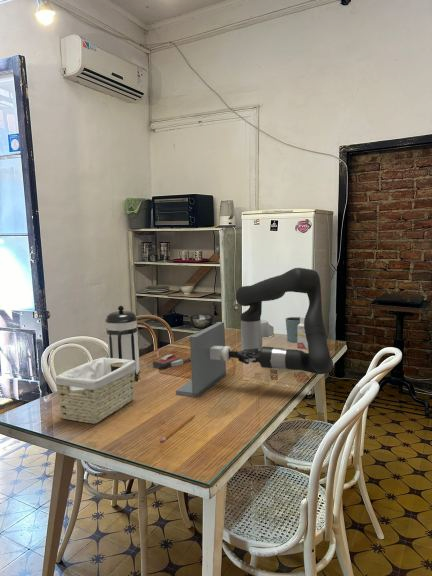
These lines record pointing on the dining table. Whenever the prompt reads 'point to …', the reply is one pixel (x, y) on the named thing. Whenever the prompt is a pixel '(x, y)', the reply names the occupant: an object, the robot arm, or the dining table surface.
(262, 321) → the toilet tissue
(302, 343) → the ink cartridge box
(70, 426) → the dining table surface
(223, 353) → the knob
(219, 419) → the dining table surface
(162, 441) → the pencil
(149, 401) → the dining table surface
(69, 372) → the storage basket
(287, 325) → the grey-green cup
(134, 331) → the coffee press
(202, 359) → the knob panel
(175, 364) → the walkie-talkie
